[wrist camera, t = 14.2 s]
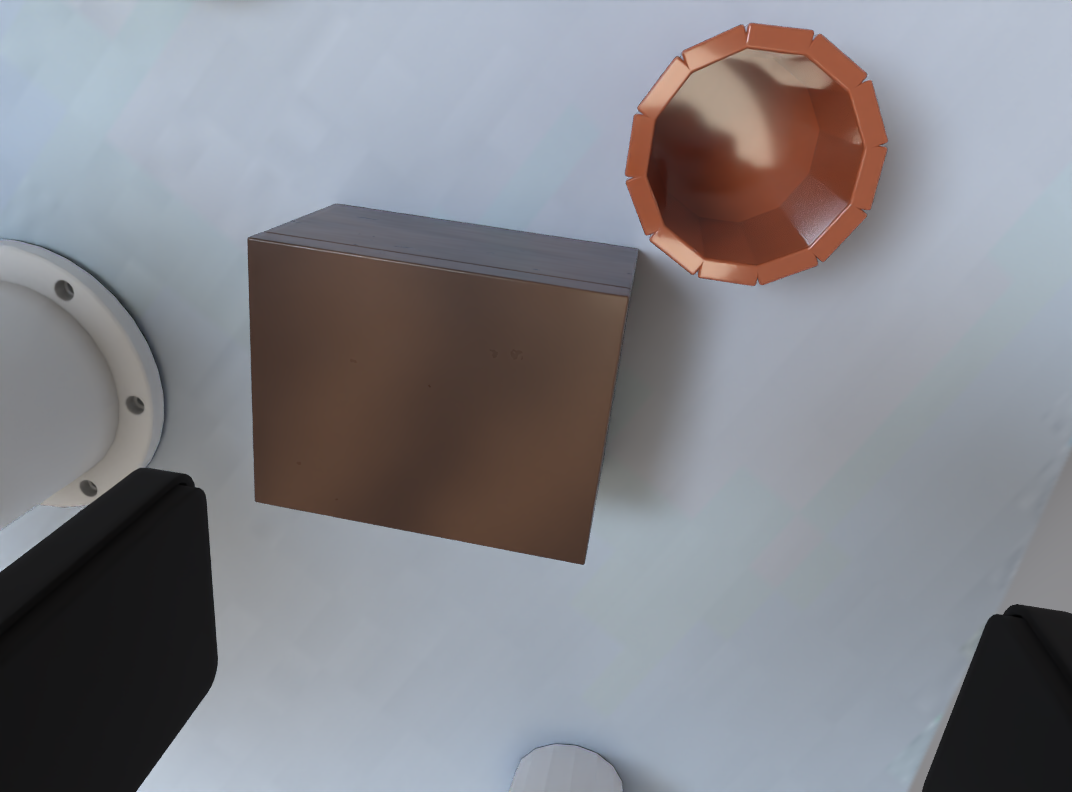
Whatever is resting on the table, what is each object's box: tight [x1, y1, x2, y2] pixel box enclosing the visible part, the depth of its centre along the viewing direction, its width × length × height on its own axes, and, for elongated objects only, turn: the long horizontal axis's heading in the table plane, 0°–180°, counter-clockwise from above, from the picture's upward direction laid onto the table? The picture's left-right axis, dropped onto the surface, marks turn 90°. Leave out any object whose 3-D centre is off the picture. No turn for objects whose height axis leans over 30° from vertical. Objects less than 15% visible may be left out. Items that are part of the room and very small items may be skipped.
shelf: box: [248, 204, 639, 565], centre depth 29 cm, size 12×10×7 cm
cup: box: [625, 23, 888, 286], centre depth 25 cm, size 7×7×8 cm
